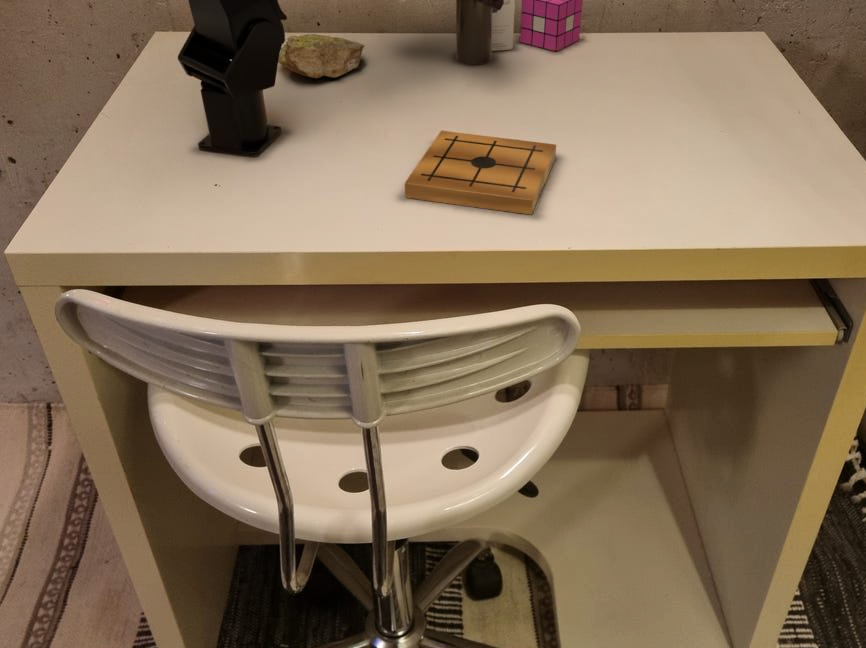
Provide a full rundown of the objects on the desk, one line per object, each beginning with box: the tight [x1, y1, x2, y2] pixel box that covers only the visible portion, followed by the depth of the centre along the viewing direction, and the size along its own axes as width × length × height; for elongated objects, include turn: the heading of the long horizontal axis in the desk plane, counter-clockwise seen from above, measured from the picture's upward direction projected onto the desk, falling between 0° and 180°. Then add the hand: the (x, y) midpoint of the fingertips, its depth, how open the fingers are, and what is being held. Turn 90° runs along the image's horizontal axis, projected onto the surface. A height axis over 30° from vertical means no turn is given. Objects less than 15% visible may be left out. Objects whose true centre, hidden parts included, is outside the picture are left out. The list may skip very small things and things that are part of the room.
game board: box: [404, 130, 557, 215], centre depth 81 cm, size 12×12×2 cm
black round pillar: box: [455, 0, 493, 66], centre depth 102 cm, size 4×4×12 cm
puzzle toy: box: [519, 0, 584, 53], centre depth 109 cm, size 6×6×6 cm
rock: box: [278, 33, 365, 79], centre depth 102 cm, size 13×10×4 cm
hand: (482, 0), depth 102 cm, fingers open, 6 cm apart
